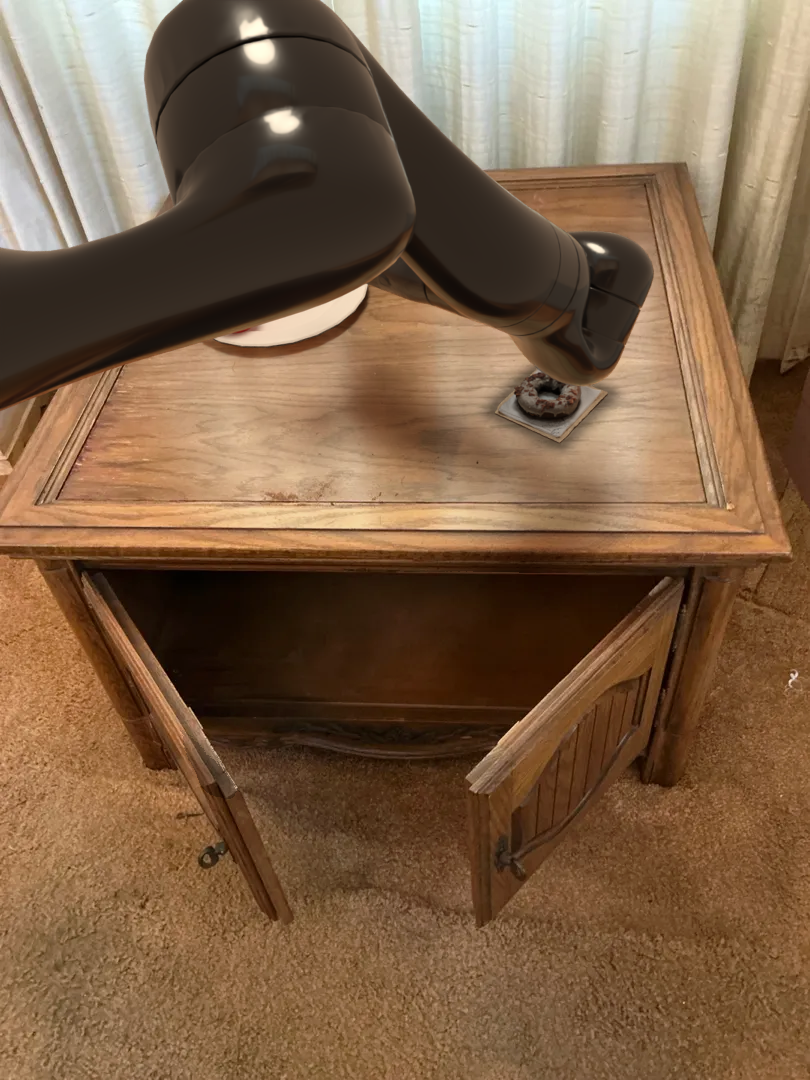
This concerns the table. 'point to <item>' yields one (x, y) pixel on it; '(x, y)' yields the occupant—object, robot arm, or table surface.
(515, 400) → the donut
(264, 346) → the plate
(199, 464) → the table surface
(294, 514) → the table surface
